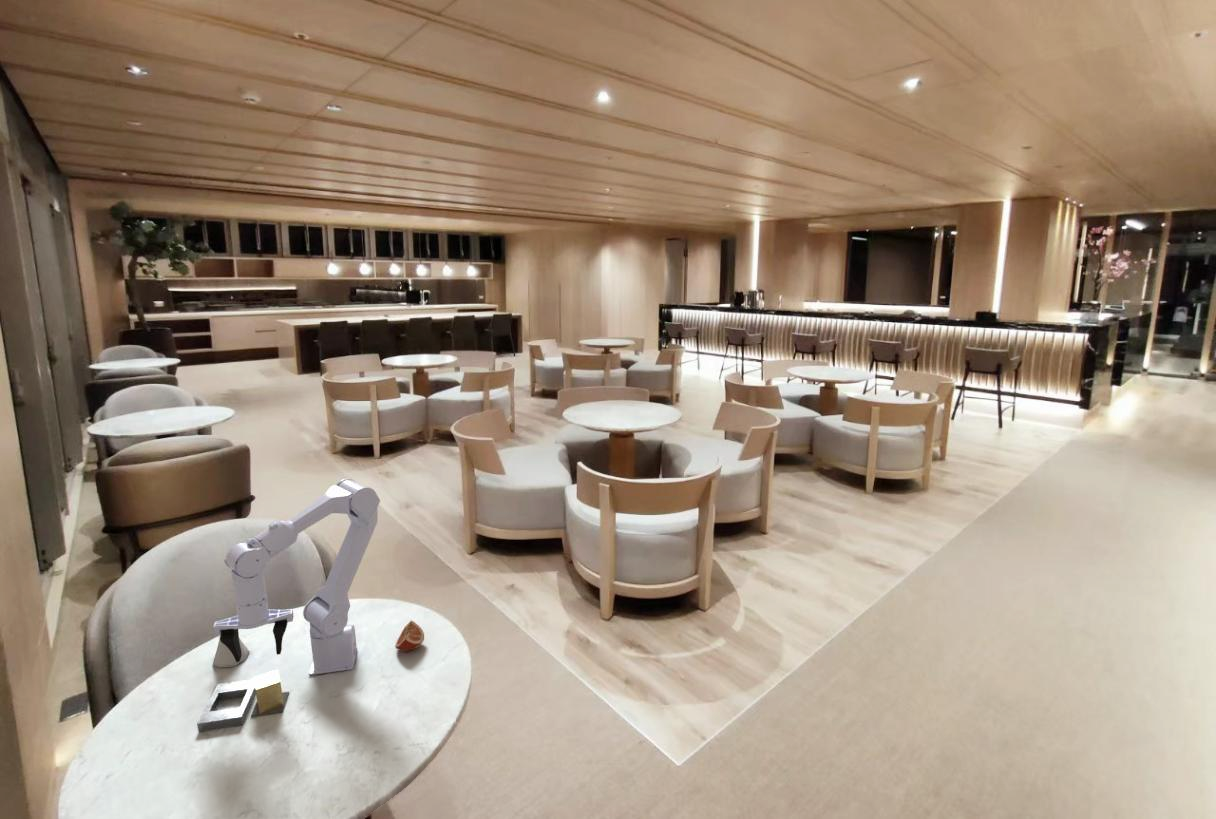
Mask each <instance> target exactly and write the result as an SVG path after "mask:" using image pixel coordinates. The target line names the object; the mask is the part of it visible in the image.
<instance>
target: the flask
mask: <svg viewBox="0 0 1216 819" xmlns="http://www.w3.org/2000/svg"><path fill="white" fill-rule="evenodd" d="M224 619H225V618H224ZM224 619H222V620H224ZM220 637H221V633H220V634H219V640H218V644H217V648H216V652H215V654H214V658H213V661H212V665H213V666H215V667H218V668H219V669H223V668H232V667H235V666H237V665H239V664H240V663H241V662H244V661H245V660H247V658H248V655H249V654H250V650H249V649H248V647H247V646H246V644H244V643H243V641H242V639H241V638H240V637H239V642H240V647H241V653H242V656H241V659H240V662H236V660H235V658H234V656H233V654H232V653H231V651H230V650H229V649H228V648H227V647H226V646H225V645H224V644H223V643H222V642H221V641H220Z"/></svg>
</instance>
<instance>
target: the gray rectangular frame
mask: <svg viewBox="0 0 1216 819" xmlns="http://www.w3.org/2000/svg"><path fill="white" fill-rule="evenodd" d="M242 698H243V699H242ZM255 698H256V690H255V683H254V678H251V679H246V680H245V679H244V680H237V681H231V682H225V683H217V685H216V687H215V689H214V691H213V692H212V694H211V696H210V698H209V700H208V701H207V704H206V705H205V708H204V709H203V712H202V713H201V715H200V718H199V719H198V721H197V723H196V725H197V731H198V733H202V732H207V731H213V730H214V731H215V730H219V729H220V730H221V729H226V728H227V729H228V728H232V727H233V728H234V727H239V726H243V725H244V723H245V721H246V718H247V716H248V714H249V711H250V709H251V706H252V705H253V703H254V702H253V701H254V700H255ZM236 699H242V702H241V704H240V706H239V707H238V706H237V707H232V708H224V709H219V710H216V709H217V707H218V706H219V704H220V702H222V701H228V700H229V701H230V700H236Z"/></svg>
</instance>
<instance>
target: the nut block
mask: <svg viewBox="0 0 1216 819" xmlns="http://www.w3.org/2000/svg"><path fill="white" fill-rule="evenodd" d="M253 679H254V683H255V690H256V695H255V698H256V702H257V703H258V708H259V713H260V714H261V713H264V712H267V711H270V710H273V709H275V708H278V707H281V706H284V704H283V697H282V693H283V691H282V684H281V683H282V682H281V679H280V673H279V670H278V669H276V670H275V669H274V670H272V671H269V672H266V673H263V674H260V675H257V676H254V677H253Z"/></svg>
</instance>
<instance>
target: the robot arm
mask: <svg viewBox="0 0 1216 819" xmlns="http://www.w3.org/2000/svg"><path fill="white" fill-rule="evenodd" d="M380 503H381V499H380V497H379V495H378V494H377V492H376V491H375V490H374V488H371V487H367V486H366V485H364V484H361V483H359V482H357V481H356V480H354V479H352V478H343V479H341V480H340V481H338V482H337V483H336V484H334V485H333V484H332V485H331V486H329V487H328V489H327V490H326V492H325V493H324V494H322V496H320V497H319V498H318V499H316V500H315V501H313V502H312V503H311V504H310V505H309V506H306V508H305V509H303V510H301V511H300V512H299V513H297V514H296V515H295V516H294V517H292V518H290V520H278V521H277V522H275V521H272V522H271V523H269V524H268V527H267V528H265V530H263V531H261V532H260V533H258V534H257V535H255V536H254V537H253V538H252V537H249V538H248V539H247V540H246V542H239V543H237V544H235V545H233V546H232V547H231V548H230V549H229V550H228V551H227V553H226V556H225V558H224V564H225V565H226V567H228V568H229V569H231V572H230V573H231V580H232V589H233V590H232V591H233V595H234V602H235V609H236V615H235V616H232V617H228V618H224V620H223V619H222V620H221V619H220V620H216V621H215V622H214V624H213V634H214V635H220V633H221V637H220V636H219V639H220V641H221V642H222V643H223V644H224V645H225V646H226V647H227V648H228V649H229V650H230V651H231V653H232V654H233V656H234V658H235V660H236V662H240V659H241V656H242V653H241V647H240V642H239V638H240V636H239V633H240V632H239V630H253V629H256V628H259V627H263V626H265V625H269V624H274V625H273V628H272V633H273V636H274V642H275V653H276V655H277V656H278V655H281V653H282V649H283V647H282V644H283V638H284V635H285V633H286V629H287V626H288V623H291V622H293V621H294V617H295V616H294V609H293V608H289V609H270V608H269V603H268V602H269V601H268V595H267V587H266V580H265V574H264V570H265V569H266V567H267V564H268V563H269V562H270V561H271V559H273V558H274V557H276V556H278V554H280V553H282V552H283V551H284V550H286V549H287V548H289V547H291V546H292V545H293V544H295V543H296V542H297V540H298V537H299V534H301V533H302V532H303V531H305V530H306V529H308V528H310V527H311V526H313V525H315V524H317V523H318V522H320V521H321V520H323V519H325V518H327V517H328V516H330V515H331V514H340V515H343V514H345V515H347V516H348V518H349V520H350V525H349V527H348V529H347V532H346V534H345V536H344V539H343V541H342V543H341V546H340V547H339V550H338V552H337V554H336V558H335V559H334V562H333V564H332V567H331V569H330V572H329V573H328V576H327V579H326V581H325V583H324V585H323V586H322V587H320V588H318V589H317V590H315V591H314V593H313V596H312V598H310V600H309V601H307V603H306V604H305V605H304V608H303V611H302V613H303V614H302V615H303V618H304V619H305V620H306V622H308V623H309V626H310V627H309V637H310V645H311V654H312V662H311V665H310V669H309V672H308V674H309V676H313V675H314V676H315V675H320V674H327V673H335V672H343V671H348V670H349V671H350V670H353V669H354V666H355V661H356V659H357V658H356V657H357V653H358V647H357V637H356V628H355V625H354V624H348V621H349V615H348V614H349V610H350V607H351V602H350V599H349V590H350V588H351V586H352V584H353V582H354V579H355V577H356V575H357V572H358V569H359V567H360V564H361V562H362V560H363V557H364V555H365V552H366V550H367V549H368V545H369V544H370V541H371V539H372V536H373V534H374V531H375V528H376V527H377V525H378V521H379V520H378V519H379V517H378V507H379V504H380ZM240 663H241V662H240Z"/></svg>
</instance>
